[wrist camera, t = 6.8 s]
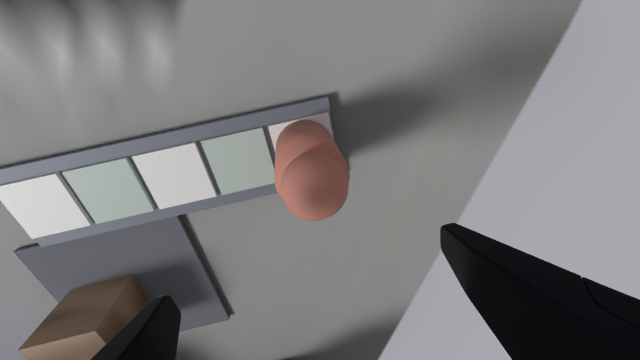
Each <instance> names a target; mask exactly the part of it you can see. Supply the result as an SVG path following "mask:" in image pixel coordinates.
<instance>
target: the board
mask: <svg viewBox="0 0 640 360" xmlns="http://www.w3.org/2000/svg"><path fill="white" fill-rule="evenodd" d="M298 120H312V121H315V122H318V123H320V124H321V125H323V126H324V127H325V128H326V129H327V130H328V131H329V133H330V135H331V136H332V138H333V140H334V141H335V143H336V138H335V133H334V127H333V121H332V115H331V109H330V104H329V98H328V96H322V97H318V98H313V99H309V100H304V101H300V102H295V103H291V104H286V105H282V106H277V107H273V108H268V109H264V110H259V111H254V112H250V113H245V114H241V115H236V116H232V117H227V118H223V119H218V120H214V121H209V122H205V123H200V124H196V125H191V126H187V127H182V128H177V129H173V130H168V131H164V132H159V133H155V134H150V135H146V136H141V137H137V138H132V139H128V140H123V141H119V142H114V143H110V144H105V145H100V146H96V147H91V148H87V149H82V150H78V151H73V152H69V153H64V154H60V155H55V156H51V157H46V158H42V159H37V160H33V161H28V162H23V163H19V164H14V165H10V166H5V167H1V168H0V200H1V202H2V203H3V204H4V205H5V207H6V208H7V209H8V210H9V211H10V213H11V214H12V215H13V216H14V217H15V219H16V220H17V221H18V222H19V223H20V225H21V226H22V227H23V228H24V230H25V231H26V232H27V233H28V234H29V236H30V237H31V238H32V239H35V240H36V241H37V243H38V244H39V245H40V246H41V247H44V246H49V245H53V244H57V243H62V242H66V241H70V240H75V239H79V238H83V237H88V236H92V235H96V234H101V233H105V232H109V231H114V230H118V229H122V228H127V227H131V226H135V225H139V224H144V223H148V222H152V221H157V220H161V219H165V218H170V217H174V216H178V215H183V214H187V213H191V212H196V211H200V210H204V209H209V208H213V207H217V206H222V205H226V204H230V203H235V202H239V201H243V200H247V199H252V198H256V197H260V196H265V195H269V194H273V193H278V192H277V190H276V187H275V181H274V175H275V153H276V142H277V139H278V136H279V134H280V133H281V131H282V130H283V129H284V128H285V127H286V126H287V125H289V124H291V123H293V122H295V121H298ZM336 145H337V144H336Z"/></svg>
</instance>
